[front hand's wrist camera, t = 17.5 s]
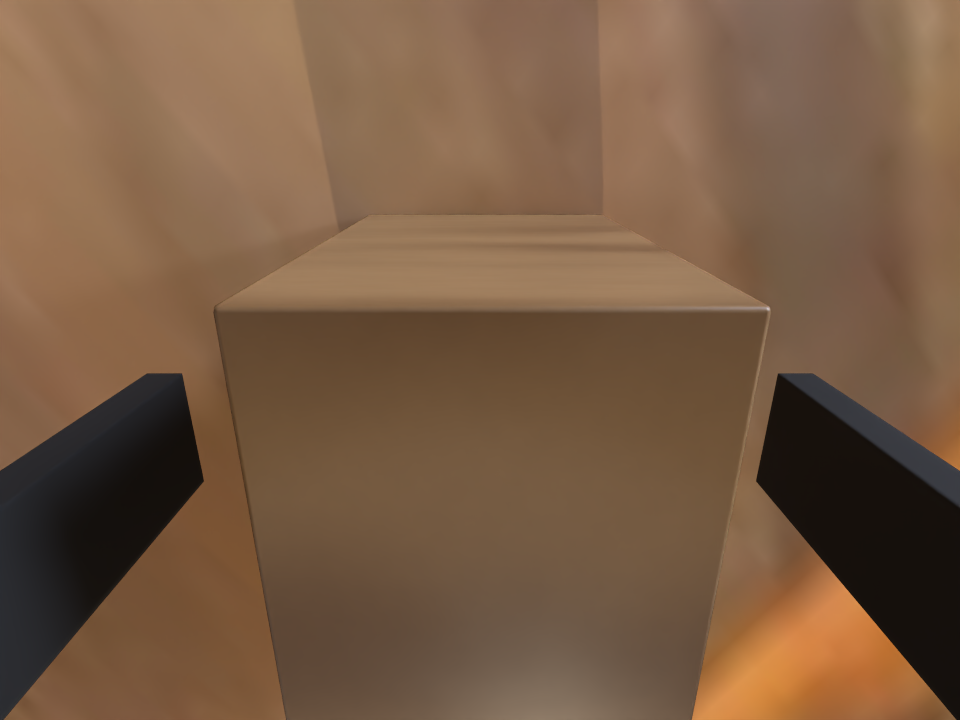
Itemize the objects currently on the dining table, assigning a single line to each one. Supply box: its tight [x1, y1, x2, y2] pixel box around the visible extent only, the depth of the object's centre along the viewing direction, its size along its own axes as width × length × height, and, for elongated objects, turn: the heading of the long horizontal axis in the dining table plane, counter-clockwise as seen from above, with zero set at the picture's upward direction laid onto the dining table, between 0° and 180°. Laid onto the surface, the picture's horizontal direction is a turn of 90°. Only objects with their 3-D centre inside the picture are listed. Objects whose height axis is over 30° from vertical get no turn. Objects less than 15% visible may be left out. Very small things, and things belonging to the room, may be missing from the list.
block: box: [214, 215, 771, 720], centre depth 12 cm, size 8×6×9 cm
